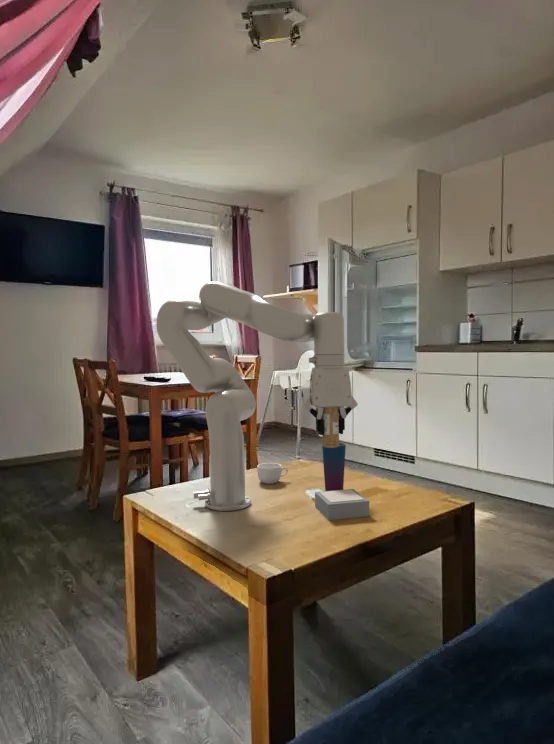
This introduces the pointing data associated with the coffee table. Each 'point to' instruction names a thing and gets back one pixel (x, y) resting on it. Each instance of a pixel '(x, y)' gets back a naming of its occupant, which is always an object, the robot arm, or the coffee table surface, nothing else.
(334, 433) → the sprinkles bottle
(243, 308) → the robot arm
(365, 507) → the base
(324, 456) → the cup
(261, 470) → the teacup
